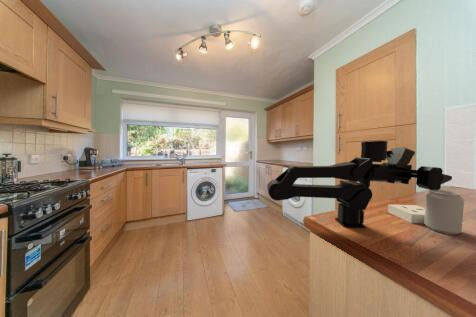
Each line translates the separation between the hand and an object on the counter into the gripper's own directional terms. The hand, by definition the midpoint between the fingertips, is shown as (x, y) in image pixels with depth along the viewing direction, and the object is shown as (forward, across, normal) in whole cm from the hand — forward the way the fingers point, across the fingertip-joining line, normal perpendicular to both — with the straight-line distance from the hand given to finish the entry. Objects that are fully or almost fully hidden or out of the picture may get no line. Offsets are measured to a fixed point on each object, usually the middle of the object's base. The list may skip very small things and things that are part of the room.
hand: (434, 175), depth 55 cm
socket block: (+1, +7, +16) cm, 18 cm away
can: (+2, -2, +17) cm, 17 cm away
